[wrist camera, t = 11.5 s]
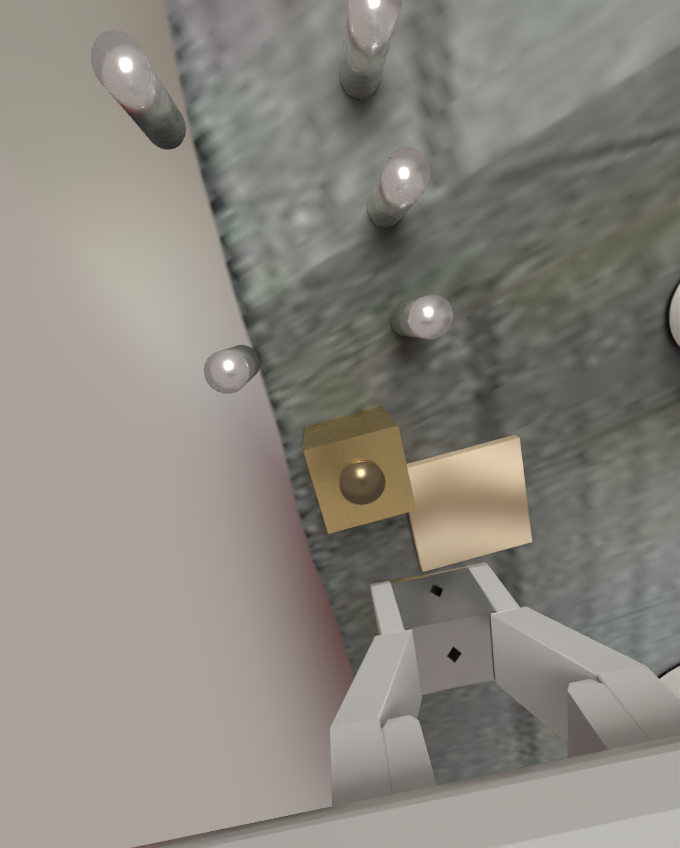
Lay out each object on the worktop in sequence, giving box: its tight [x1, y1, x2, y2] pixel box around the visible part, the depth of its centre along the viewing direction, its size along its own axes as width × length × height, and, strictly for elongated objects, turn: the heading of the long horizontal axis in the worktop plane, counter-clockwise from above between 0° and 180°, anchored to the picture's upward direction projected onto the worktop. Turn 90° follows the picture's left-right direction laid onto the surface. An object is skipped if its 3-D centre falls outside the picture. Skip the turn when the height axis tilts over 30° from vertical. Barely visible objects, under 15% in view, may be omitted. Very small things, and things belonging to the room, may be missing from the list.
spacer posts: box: [91, 0, 453, 393], centre depth 18 cm, size 14×12×4 cm
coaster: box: [407, 435, 532, 572], centre depth 25 cm, size 8×8×1 cm
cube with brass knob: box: [303, 406, 416, 534], centre depth 21 cm, size 5×5×5 cm
